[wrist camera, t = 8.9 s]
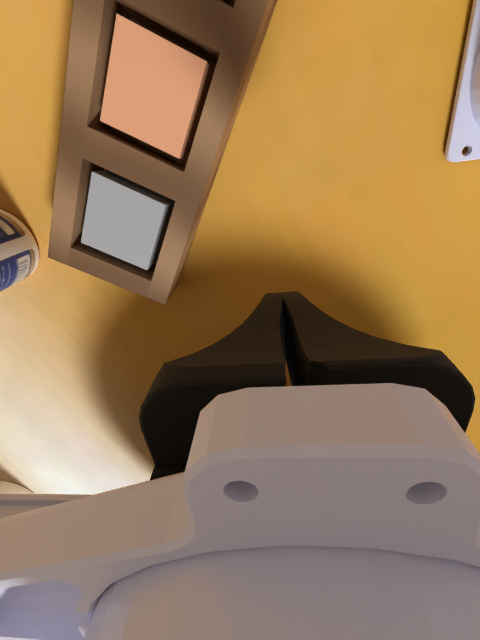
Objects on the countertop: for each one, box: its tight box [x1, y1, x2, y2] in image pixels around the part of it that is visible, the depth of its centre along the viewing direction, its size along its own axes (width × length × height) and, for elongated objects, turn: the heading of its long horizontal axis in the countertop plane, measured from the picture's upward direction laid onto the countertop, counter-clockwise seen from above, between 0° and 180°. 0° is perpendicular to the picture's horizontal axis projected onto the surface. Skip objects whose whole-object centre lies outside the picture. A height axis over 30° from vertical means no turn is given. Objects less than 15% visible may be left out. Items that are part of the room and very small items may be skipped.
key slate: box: [81, 170, 175, 270], centre depth 19 cm, size 4×4×2 cm
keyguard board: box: [48, 0, 277, 305], centre depth 14 cm, size 29×8×3 cm, turn 157°
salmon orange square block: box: [100, 14, 214, 159], centre depth 16 cm, size 4×4×2 cm
